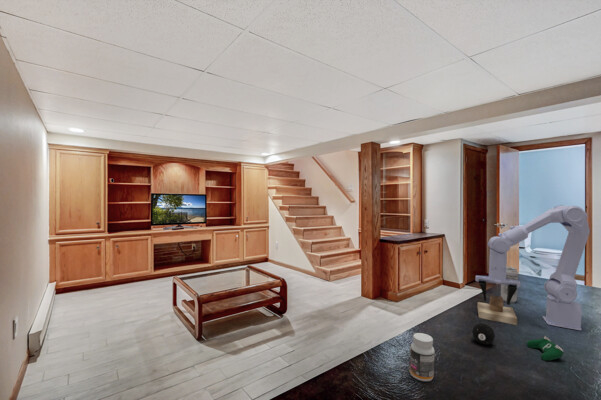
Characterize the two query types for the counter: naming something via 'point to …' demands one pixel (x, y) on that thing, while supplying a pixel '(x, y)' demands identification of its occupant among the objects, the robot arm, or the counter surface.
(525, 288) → the counter surface
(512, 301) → the energy drink can
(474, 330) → the billiard ball
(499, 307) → the walnut block
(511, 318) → the birch base
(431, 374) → the pill bottle
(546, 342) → the gaming controller
